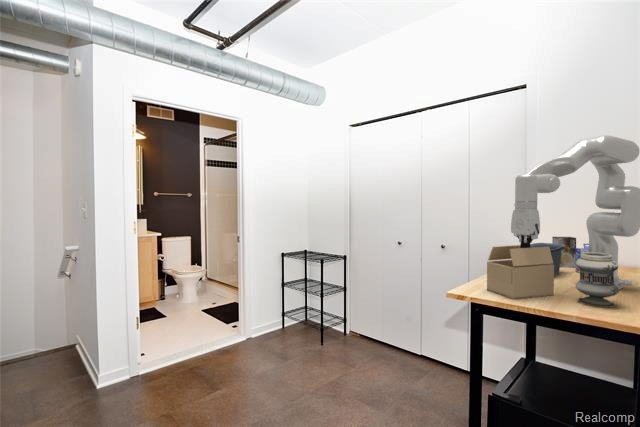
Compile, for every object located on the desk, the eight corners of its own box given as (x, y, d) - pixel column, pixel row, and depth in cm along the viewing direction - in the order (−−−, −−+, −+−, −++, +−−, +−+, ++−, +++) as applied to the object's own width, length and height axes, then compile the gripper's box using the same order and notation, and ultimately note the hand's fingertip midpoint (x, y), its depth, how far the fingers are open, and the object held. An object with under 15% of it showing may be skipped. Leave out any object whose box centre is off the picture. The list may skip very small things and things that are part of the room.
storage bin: (552, 280, 156) (552, 249, 156) (515, 274, 169) (516, 245, 168) (566, 273, 170) (567, 244, 169) (532, 268, 182) (532, 241, 181)
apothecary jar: (573, 296, 131) (573, 250, 130) (613, 300, 124) (614, 252, 124) (577, 305, 120) (578, 255, 119) (622, 310, 114) (623, 257, 113)
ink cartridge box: (596, 271, 171) (597, 243, 171) (603, 274, 166) (603, 244, 165) (574, 271, 173) (574, 243, 173) (580, 273, 168) (581, 244, 167)
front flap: (548, 246, 134) (549, 246, 134) (552, 263, 133) (553, 263, 132) (509, 249, 130) (510, 248, 129) (513, 266, 128) (514, 266, 128)
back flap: (524, 257, 145) (524, 257, 146) (530, 244, 142) (529, 244, 143) (488, 260, 141) (487, 259, 141) (493, 247, 138) (492, 246, 138)
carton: (525, 286, 146) (525, 258, 146) (554, 295, 133) (554, 264, 132) (486, 289, 142) (486, 261, 141) (512, 299, 128) (512, 268, 128)
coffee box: (569, 265, 188) (570, 236, 187) (576, 267, 182) (577, 237, 181) (551, 264, 190) (552, 236, 189) (557, 267, 183) (558, 237, 183)
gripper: (503, 206, 139) (503, 250, 140) (533, 206, 125) (533, 256, 126) (519, 205, 141) (518, 249, 142) (550, 206, 127) (549, 255, 127)
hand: (525, 252), depth 134 cm, fingers closed
